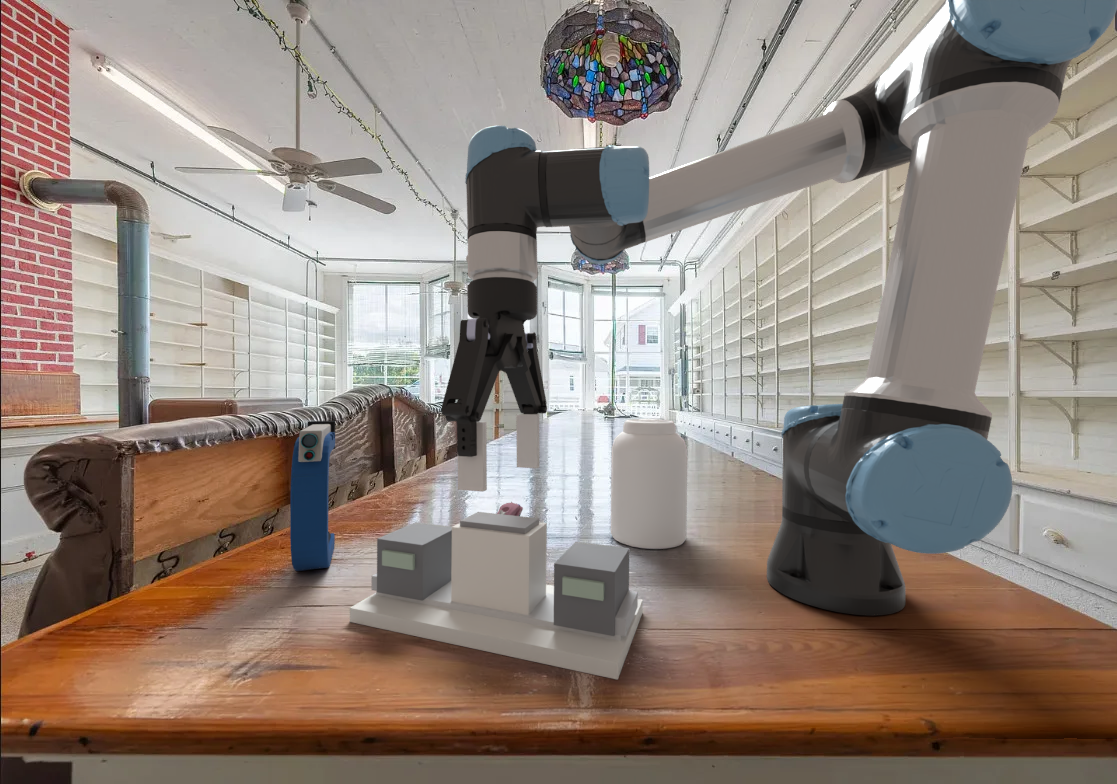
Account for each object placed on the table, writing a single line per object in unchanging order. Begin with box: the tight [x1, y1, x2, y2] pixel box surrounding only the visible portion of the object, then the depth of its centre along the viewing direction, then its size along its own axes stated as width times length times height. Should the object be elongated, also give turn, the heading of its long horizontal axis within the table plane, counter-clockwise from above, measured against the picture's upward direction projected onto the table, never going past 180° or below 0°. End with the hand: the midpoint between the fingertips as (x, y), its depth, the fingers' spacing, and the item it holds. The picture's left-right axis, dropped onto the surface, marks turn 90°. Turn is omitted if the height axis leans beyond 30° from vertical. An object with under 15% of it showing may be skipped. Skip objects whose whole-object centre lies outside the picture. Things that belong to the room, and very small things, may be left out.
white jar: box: [610, 418, 688, 550], centre depth 80 cm, size 12×12×20 cm
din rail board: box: [349, 521, 644, 680], centre depth 52 cm, size 29×13×8 cm, turn 71°
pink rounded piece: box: [496, 501, 524, 516], centre depth 80 cm, size 10×5×7 cm, turn 169°
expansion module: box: [451, 511, 548, 615], centre depth 52 cm, size 5×9×9 cm, turn 71°
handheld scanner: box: [289, 420, 336, 572], centre depth 68 cm, size 5×16×20 cm, turn 21°
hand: (503, 477), depth 52 cm, fingers open, 13 cm apart
